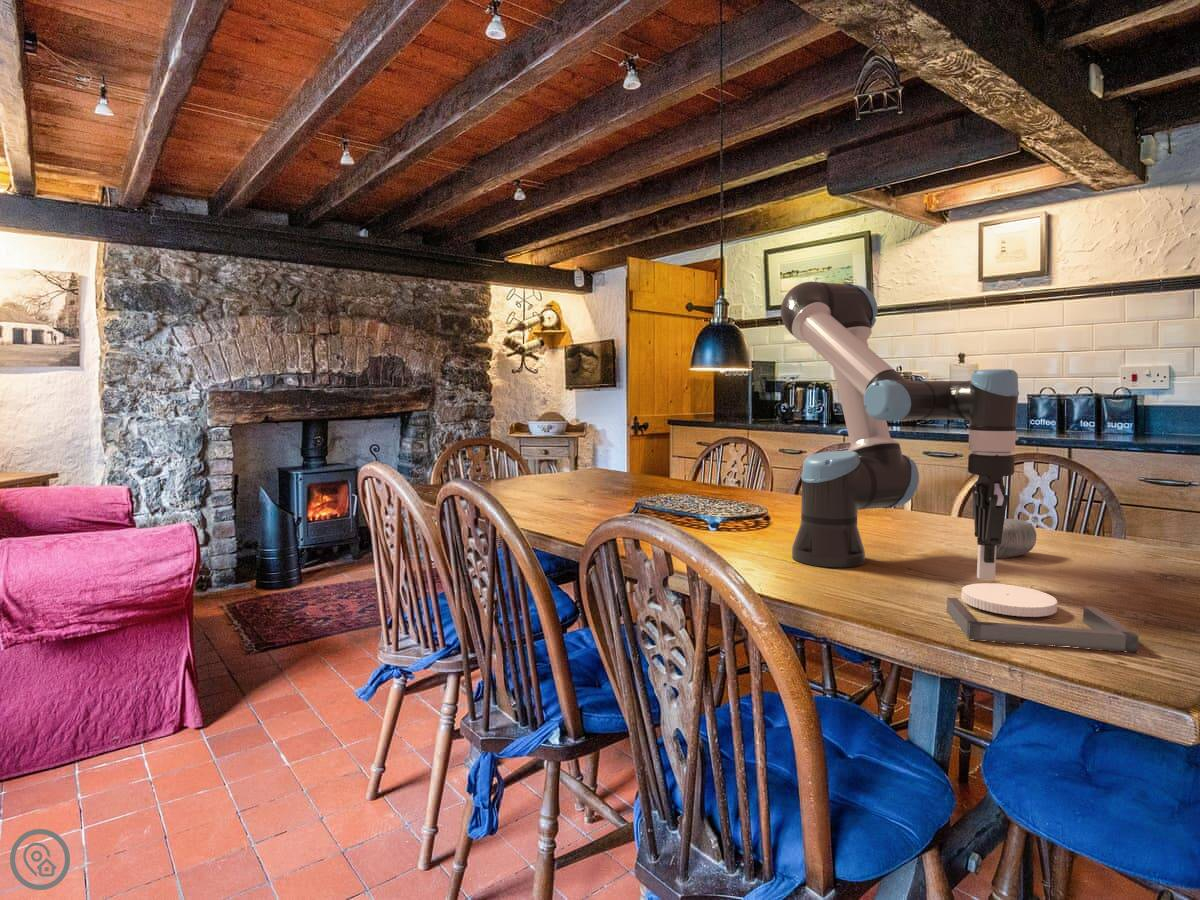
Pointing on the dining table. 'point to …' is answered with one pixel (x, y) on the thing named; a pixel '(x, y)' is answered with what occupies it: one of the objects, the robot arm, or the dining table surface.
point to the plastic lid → (1009, 600)
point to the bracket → (1049, 631)
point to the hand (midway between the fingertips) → (985, 578)
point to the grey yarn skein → (1016, 538)
